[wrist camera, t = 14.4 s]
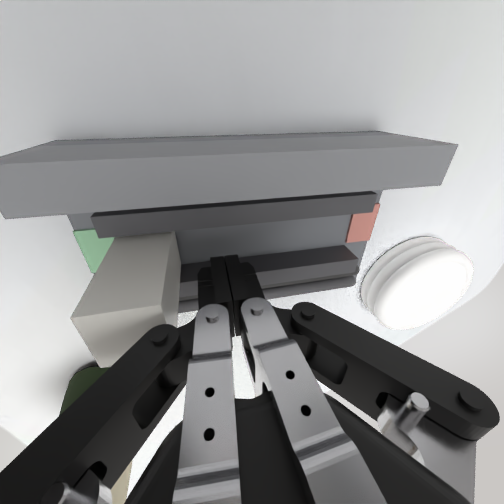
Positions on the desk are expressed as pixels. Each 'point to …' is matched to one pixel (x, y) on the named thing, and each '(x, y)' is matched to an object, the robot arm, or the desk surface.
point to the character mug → (74, 391)
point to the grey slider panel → (227, 198)
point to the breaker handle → (129, 294)
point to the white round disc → (416, 282)
